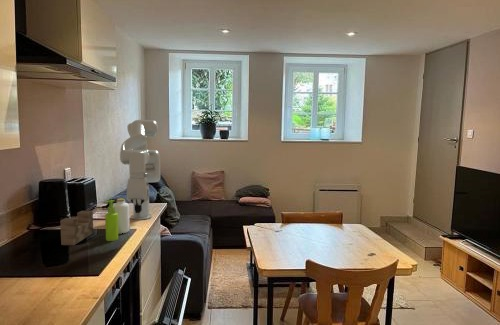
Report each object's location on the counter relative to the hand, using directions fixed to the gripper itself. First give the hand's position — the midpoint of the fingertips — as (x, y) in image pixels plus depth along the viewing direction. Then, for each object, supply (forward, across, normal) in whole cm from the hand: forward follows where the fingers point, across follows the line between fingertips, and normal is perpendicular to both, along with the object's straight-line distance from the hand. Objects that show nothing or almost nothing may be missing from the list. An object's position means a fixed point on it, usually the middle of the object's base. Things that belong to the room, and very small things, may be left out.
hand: (138, 212), depth 179 cm
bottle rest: (+14, +31, 0) cm, 34 cm away
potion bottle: (+14, +14, -14) cm, 24 cm away
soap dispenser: (+14, +14, 0) cm, 20 cm away
